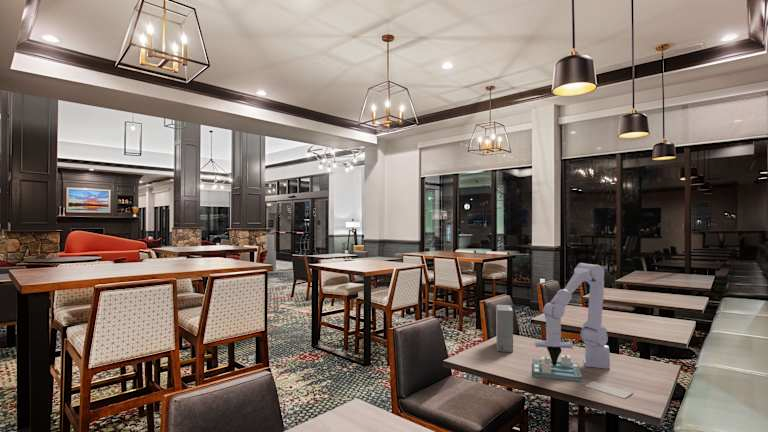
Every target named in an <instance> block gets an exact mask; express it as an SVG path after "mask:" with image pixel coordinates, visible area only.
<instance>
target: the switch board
mask: <svg viewBox="0 0 768 432" xmlns="http://www.w3.org/2000/svg"><path fill="white" fill-rule="evenodd" d="M550 362H551V374H550V373H542V367H541V359H536V358H535V359H534V358H533V363H532V364H533V365H532V366H533V367H532V368H533V373H532V375H533V377H534V378H535V377H536V378H546V379H553V380H562V381H563V380H565V381H573V382H579V383H580V382H582V383H583V380H584V379H583V374H582V372H581V368H580V366H579V365H580V364H579V363H578V362H571V367H569V366H562V365H561V361H558V360H557V363H556V366H553V365H552V360H550Z"/></svg>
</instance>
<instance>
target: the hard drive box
mask: <svg viewBox="0 0 768 432" xmlns="http://www.w3.org/2000/svg"><path fill="white" fill-rule="evenodd" d="M495 313H496V315H495V318H496V319H495V321H496V322H495V323H496V324H495V325H496V326H495V328H496V329H495V333H496V335H495V337H496V351H497V352H507V353H514V310H513V308H512V305H511V304H510V305H509V304H496V306H495Z"/></svg>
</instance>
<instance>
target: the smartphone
mask: <svg viewBox="0 0 768 432" xmlns="http://www.w3.org/2000/svg"><path fill="white" fill-rule="evenodd" d="M583 386H584V387H585V388H588V389H592V390H595V391H598V392H601V393H604V394H607V395H609V396H611V395H612V396H614V397H617V398H620V399H623V400H626V399H629V398H630V397H632V396H633V395H634V392H631V391H626V390H623V389H621V388H616V387H614V386H609V385H607V384H602V383H599V382H596V381H589V382H588V383H586V384H583Z"/></svg>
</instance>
